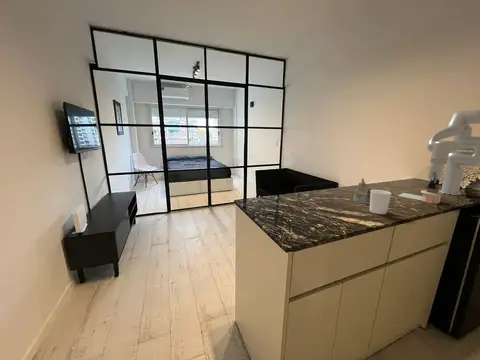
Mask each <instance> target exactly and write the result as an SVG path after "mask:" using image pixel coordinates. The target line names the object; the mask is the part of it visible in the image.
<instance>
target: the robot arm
mask: <svg viewBox="0 0 480 360" xmlns="http://www.w3.org/2000/svg"><path fill="white" fill-rule="evenodd" d="M472 124H475V125H476V124H478V125H479V124H480V109H473V110H472V109H471V110H460V111H456V112H454V113H452V114H451V116H450V119H449V120H448V123H447V125H446V127H445V128H443V129H441V130H438V132H436V133H434V134H433V135H432V136H431V138H430V140H429V141H428V144H427V146H426V147H427V151H429V152H431V158H430V162H429V163H430V164H431V165H430V167H429V168H430V169H429V172H428V176H427V178H428V179H429V181H428V184H429V186H428V185H427V187H428V188H430V189H435V186H436V185H439V186H440V179H441V178H442V174H443V171H444V165H446V166H445V171H444V175H443V181H442V184H441V188H440V189H439V190H438V191H439V192H441V193H445V194H444V195H449V194H451V195H452V196H462V194H463V193H462V192H460V188H461V184H462V179H463V175H464V169H463V167H462V166H468V167H469V166H471V167H478V166H480V136H472V134H473V127H472V126H471V125H472ZM452 137H453V139H452V140H443V139H447V138H452ZM459 150H460V151H459Z"/></svg>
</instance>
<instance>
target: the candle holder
mask: <svg viewBox="0 0 480 360" xmlns="http://www.w3.org/2000/svg"><path fill="white" fill-rule="evenodd" d="M391 196H392V192H391V191H388V190H385V189H384V190H383V189H377V190H371V194H370V204H369V210H368V211H369V212H370V213H373V214H376V215H386V214H387V213H388V209H389V204H390V200H391Z"/></svg>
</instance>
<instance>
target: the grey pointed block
mask: <svg viewBox="0 0 480 360" xmlns="http://www.w3.org/2000/svg"><path fill="white" fill-rule="evenodd" d="M371 190H378V187H377V186H375V187H373V186H368V185H367V183H366V182H365V179H364V178H361V181H360V182H358V185H357V189H356V191H355V194H354V196H353V199H352V201H353V202H354V203H358V204H362V205H363V204H364V205H370V194H371Z"/></svg>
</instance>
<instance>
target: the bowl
mask: <svg viewBox="0 0 480 360" xmlns="http://www.w3.org/2000/svg"><path fill="white" fill-rule="evenodd" d="M421 196H422V200H421V201H422V202H424V203H426V204H428V203H429V204H435V205H436V204H440V202H441V198H442V196H431V195H426V194H423V193H422V195H421Z"/></svg>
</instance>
